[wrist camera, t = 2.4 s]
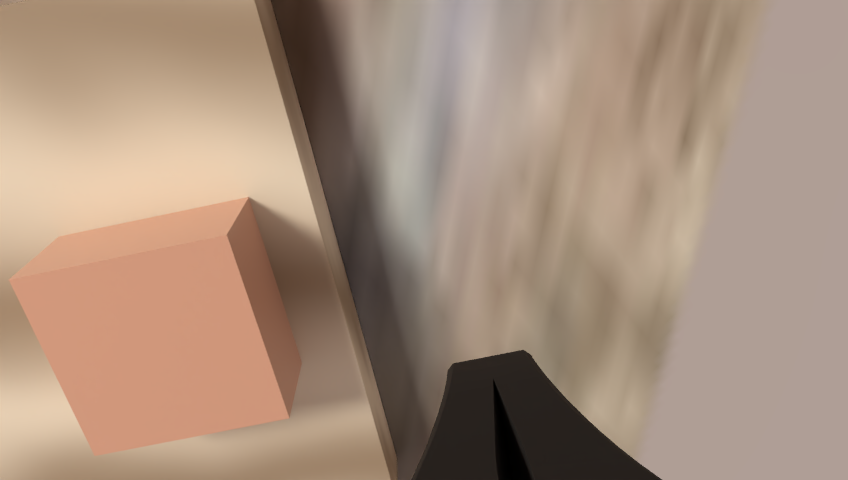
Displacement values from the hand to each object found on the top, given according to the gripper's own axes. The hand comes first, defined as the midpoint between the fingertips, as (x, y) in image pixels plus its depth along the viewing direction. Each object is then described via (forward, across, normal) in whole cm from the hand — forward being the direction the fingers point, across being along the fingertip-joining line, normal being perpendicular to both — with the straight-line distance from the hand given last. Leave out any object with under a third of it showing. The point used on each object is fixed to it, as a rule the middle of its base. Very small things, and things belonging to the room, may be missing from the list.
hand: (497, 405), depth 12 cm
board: (+9, +10, 0) cm, 13 cm away
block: (+7, +8, 0) cm, 10 cm away
